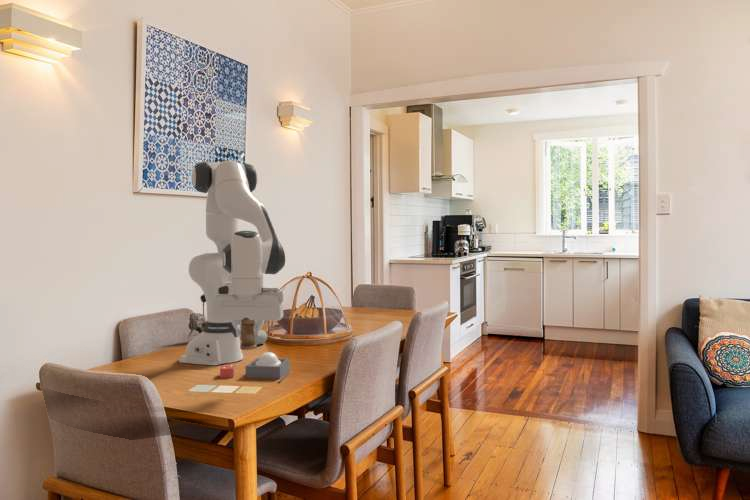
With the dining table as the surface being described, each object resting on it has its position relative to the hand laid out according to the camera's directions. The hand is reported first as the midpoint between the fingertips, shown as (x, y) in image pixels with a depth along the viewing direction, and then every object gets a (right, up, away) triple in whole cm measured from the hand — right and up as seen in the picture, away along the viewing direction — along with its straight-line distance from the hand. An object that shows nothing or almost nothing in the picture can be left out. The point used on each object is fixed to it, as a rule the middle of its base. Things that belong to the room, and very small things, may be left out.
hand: (248, 335), depth 162 cm
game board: (-7, -17, +2) cm, 18 cm away
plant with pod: (-37, -14, +76) cm, 86 cm away
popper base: (+2, -16, +19) cm, 25 cm away
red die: (-10, -16, +16) cm, 25 cm away
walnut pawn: (0, -4, 0) cm, 4 cm away
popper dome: (+2, -15, +19) cm, 24 cm away
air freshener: (-13, -14, +70) cm, 73 cm away
